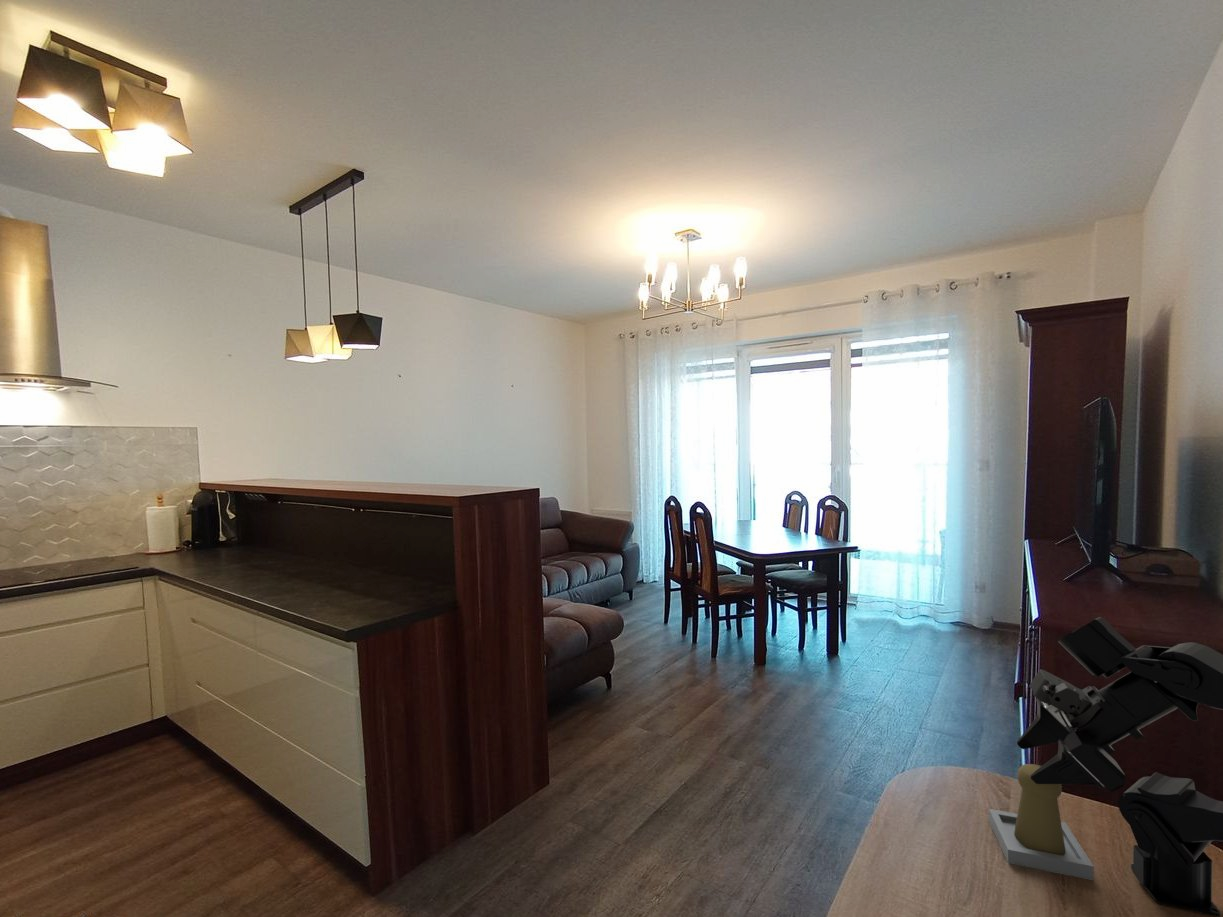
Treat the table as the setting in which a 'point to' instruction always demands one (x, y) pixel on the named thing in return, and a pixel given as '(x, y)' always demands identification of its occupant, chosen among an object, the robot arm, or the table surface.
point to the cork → (1039, 814)
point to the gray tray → (1018, 854)
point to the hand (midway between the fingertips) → (1025, 762)
